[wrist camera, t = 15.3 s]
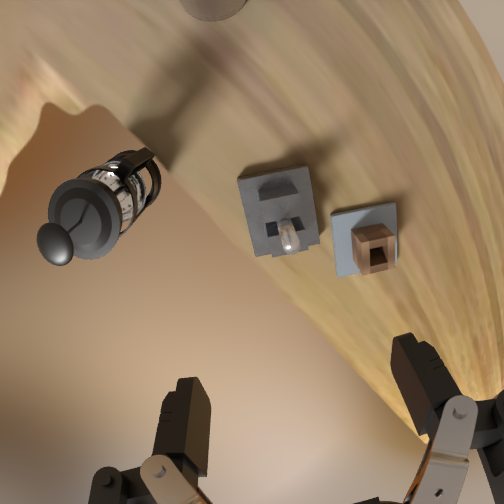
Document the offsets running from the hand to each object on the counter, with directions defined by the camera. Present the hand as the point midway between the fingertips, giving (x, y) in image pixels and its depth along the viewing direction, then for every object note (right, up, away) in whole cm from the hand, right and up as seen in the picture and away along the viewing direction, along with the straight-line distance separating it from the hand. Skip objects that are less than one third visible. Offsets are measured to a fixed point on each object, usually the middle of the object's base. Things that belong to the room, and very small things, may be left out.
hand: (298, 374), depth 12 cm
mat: (+17, +7, +37) cm, 42 cm away
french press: (-19, +16, +32) cm, 41 cm away
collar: (+17, +6, +36) cm, 41 cm away
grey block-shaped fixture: (+2, +11, +35) cm, 37 cm away
